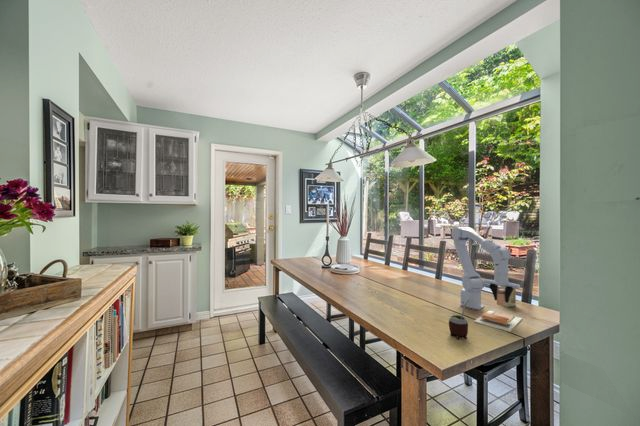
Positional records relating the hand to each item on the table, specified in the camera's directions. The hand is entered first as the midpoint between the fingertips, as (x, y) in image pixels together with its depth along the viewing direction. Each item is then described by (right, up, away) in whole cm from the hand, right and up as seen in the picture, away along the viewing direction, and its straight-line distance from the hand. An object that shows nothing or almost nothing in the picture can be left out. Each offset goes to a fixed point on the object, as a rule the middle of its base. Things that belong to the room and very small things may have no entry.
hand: (501, 300), depth 129 cm
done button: (-7, -7, -7) cm, 12 cm away
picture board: (-4, -8, -3) cm, 10 cm away
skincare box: (+15, -8, +17) cm, 25 cm away
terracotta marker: (0, -2, 0) cm, 2 cm away
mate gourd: (-30, -9, -18) cm, 37 cm away
